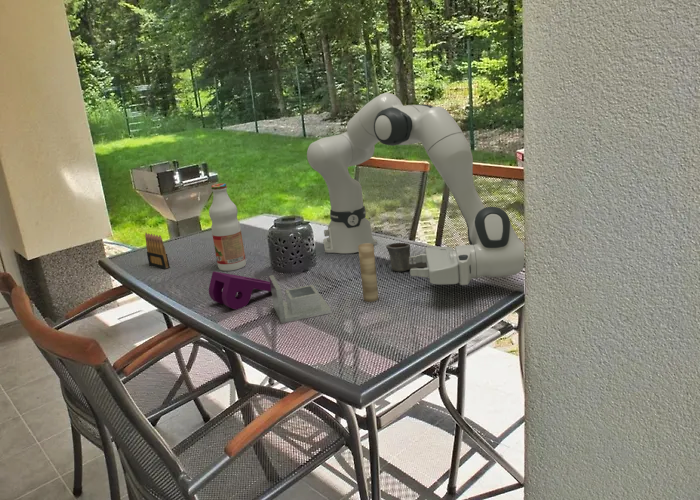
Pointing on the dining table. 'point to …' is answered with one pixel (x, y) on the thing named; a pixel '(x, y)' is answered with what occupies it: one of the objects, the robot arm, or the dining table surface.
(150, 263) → the ammunition clip
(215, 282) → the mounting bracket
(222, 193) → the fruit juice
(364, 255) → the tan wooden cylinder
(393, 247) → the pipe
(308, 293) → the cup bracket
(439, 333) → the dining table surface
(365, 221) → the robot arm
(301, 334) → the dining table surface
